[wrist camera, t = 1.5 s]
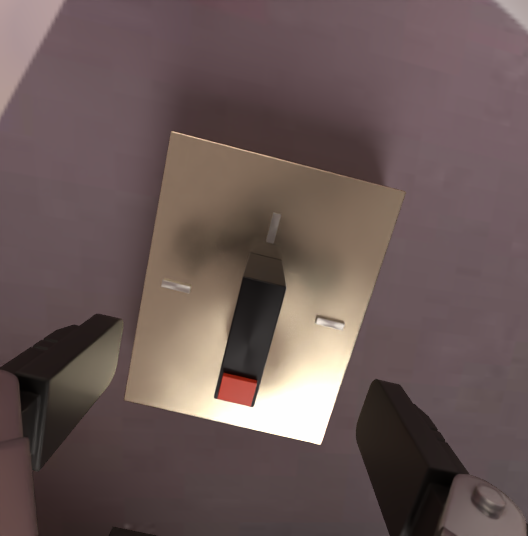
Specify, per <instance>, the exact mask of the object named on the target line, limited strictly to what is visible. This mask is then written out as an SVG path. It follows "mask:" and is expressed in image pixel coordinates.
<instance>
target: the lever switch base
mask: <svg viewBox="0 0 528 536" xmlns="http://www.w3.org/2000/svg"><path fill="white" fill-rule="evenodd" d="M405 194H406V192H405V191H402V190H399V189H395V188H391V187H387V186H383V185H379V184H375V183H372V182H368V181H364V180H360V179H356V178H352V177H349V176H345V175H341V174H337V173H333V172H329V171H325V170H322V169H318V168H314V167H310V166H306V165H302V164H299V163H295V162H291V161H287V160H283V159H279V158H275V157H272V156H268V155H264V154H260V153H256V152H252V151H249V150H245V149H241V148H237V147H233V146H229V145H225V144H222V143H218V142H214V141H210V140H206V139H202V138H199V137H195V136H191V135H187V134H183V133H179V132H175V131H171V134H170V139H169V145H168V151H167V157H166V162H165V168H164V174H163V179H162V185H161V191H160V196H159V202H158V208H157V213H156V219H155V225H154V231H153V236H152V242H151V248H150V253H149V259H148V265H147V270H146V276H145V282H144V287H143V293H142V299H141V305H140V310H139V316H138V322H137V327H136V333H135V339H134V344H133V350H132V356H131V361H130V367H129V373H128V378H127V384H126V390H125V396H124V400H125V401H129V402H133V403H138V404H142V405H147V406H151V407H155V408H160V409H164V410H169V411H173V412H178V413H182V414H186V415H191V416H195V417H200V418H204V419H209V420H213V421H217V422H222V423H226V424H231V425H235V426H240V427H244V428H248V429H253V430H257V431H262V432H266V433H271V434H275V435H279V436H284V437H288V438H293V439H297V440H301V441H306V442H310V443H315V444H319V445H321V444H322V441H323V438H324V435H325V432H326V429H327V426H328V423H329V420H330V417H331V414H332V411H333V408H334V405H335V402H336V399H337V396H338V393H339V390H340V387H341V384H342V381H343V378H344V375H345V372H346V369H347V366H348V363H349V360H350V357H351V354H352V351H353V349H354V346H355V343H356V340H357V337H358V334H359V331H360V328H361V325H362V322H363V319H364V316H365V313H366V310H367V307H368V304H369V301H370V298H371V295H372V292H373V289H374V286H375V283H376V280H377V277H378V274H379V271H380V268H381V265H382V262H383V259H384V256H385V253H386V250H387V247H388V244H389V241H390V238H391V235H392V232H393V230H394V227H395V224H396V221H397V218H398V215H399V212H400V209H401V206H402V203H403V200H404V197H405ZM250 253H253V254H257V255H261V256H265V257H269V258H273V259H277V260H281V261H282V264H283V270H284V275H285V281H286V287H287V289H286V292H285V296H284V299H283V303H282V307H281V310H280V314H279V318H278V321H277V325H276V328H275V332H274V336H273V339H272V343H271V347H270V350H269V354H268V358H267V361H266V365H265V368H264V372H263V376H262V379H261V383H260V387H259V390H258V394H257V397H256V401H255V405H254V407H249V406H245V405H240V404H236V403H231V402H227V401H223V400H218V399H214V393H215V389H216V385H217V381H218V377H219V372H220V368H221V364H222V360H223V356H224V352H225V348H226V344H227V340H228V335H229V331H230V327H231V323H232V319H233V315H234V311H235V307H236V303H237V298H238V294H239V290H240V286H241V282H242V278H243V274H244V271H245V268H246V264H247V261H248V258H249V254H250Z"/></svg>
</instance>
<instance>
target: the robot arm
mask: <svg viewBox="0 0 528 536" xmlns="http://www.w3.org/2000/svg"><path fill="white" fill-rule="evenodd" d="M122 331H123V320H122V319H119V318H115V317H111V316H106V315H102V314H95V315H94V316H92V317H91V318H90V319H88V320H87V321H85V322H84V323H83V324H81V325H80V326H78V325H71V326H68V327H65V328H61V329H58V330H56V331H54V332H53V333H51V334H50V335H48V336H47V337H45V338H44V340H41V341H39V342H38V343H36V344H35V345H34V346H33V348H32V347H30V348H29V349H27V350H26V351H24V352H23V353H21V354H20V355H18V356H17V357H15V358H14V359H12V360H11V361H9V362H8V363H6V364H5V365H3V366H2V367H0V536H38V526H37V516H36V505H35V495H34V485H33V475H32V470H33V471H38V472H39V471H40V469H41V468H42V467H43V466H44V464H45V463H46V462H47V461H48V459H49V458H50V457H51V456H52V455H53V453H54V452H55V451H56V450H57V448H58V447H59V446H60V445H61V443H62V442H63V441H64V440H65V439H66V437H67V436H68V435H69V434H70V432H71V431H72V430H73V429H74V427H75V426H76V425H77V424H78V422H79V421H80V420H81V419H82V418H83V416H84V415H85V414H86V413H87V411H88V410H89V409H90V408H91V406H92V405H93V404H94V403H95V402H96V400H97V399H98V398H99V397H100V395H101V394H102V393H103V392H104V390H105V389H106V388H107V387H108V385H109V384H110V382H111V380H112V378H113V376H114V373H115V370H116V367H117V361H118V355H119V349H120V343H121V337H122ZM437 430H438V429H437V428H436V426H435V425H434V423H433V422H432V421H431V419H430V418H429V416H427V415H426V414H425V413H424V412H423V411H422V410H421V409H419V408H418V407H417V406H416V405H415V404H413V403H412V401H411V400H410V398H409V397H408V396H407V394H406V393H405V391H404V390H403V388H402V387H401V386H400V385H399V384H395V383H390V382H386V381H382V380H378V379H375V380H374V381H373V382H372V383H371V385H370V388H369V390H368V393H367V396H366V399H365V402H364V405H363V407H362V410H361V413H360V416H359V419H358V422H357V427H356V440H357V444H358V447H359V449H360V452H361V455H362V458H363V461H364V464H365V466H366V469H367V472H368V475H369V478H370V481H371V483H372V486H373V489H374V492H375V495H376V498H377V500H378V503H379V506H380V509H381V512H382V515H383V518H384V520H385V523H386V526H387V529H388V532H389V535H390V536H528V524H527V523H526V520H525V518H524V515H523V514H522V512H521V510H520V509H519V508H518V506H517V505H516V504H515V503H514V502H513V501H512V500H511V499H510V498H509V497H508V496H507V495H506V494H504V493H503V492H502V491H501V490H499V489H498V488H497V487H495V486H494V485H492V484H490V483H489V482H487V481H485V480H483V479H481V478H479V477H476V476H473V475H470V474H469V473H468V471H467V470H466V469H465V467H464V466H463V464H462V463H461V462H460V460H459V459H458V457H457V456H456V455H455V453H454V452H453V450H452V449H451V447H450V446H449V445H448V443H446V442H445V439H444V438H443V436H442V435H441V433H440V432H438V431H437ZM109 536H156V535H151V534H146V533H141V532H136V531H132V530H127V529H122V528H117V527H113V528H112V530H111V532H110V534H109Z"/></svg>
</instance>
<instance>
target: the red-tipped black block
mask: <svg viewBox="0 0 528 536" xmlns="http://www.w3.org/2000/svg"><path fill="white" fill-rule="evenodd" d="M286 289H287V287H286V281H285V275H284V270H283V264H282V261H281V260H277V259H273V258H269V257H265V256H261V255H257V254H253V253H250V254H249V258H248V261H247V264H246V268H245V271H244V274H243V278H242V282H241V286H240V290H239V294H238V298H237V303H236V307H235V311H234V315H233V319H232V323H231V327H230V331H229V335H228V340H227V344H226V348H225V352H224V356H223V360H222V364H221V368H220V372H219V377H218V381H217V385H216V389H215V393H214V399H218V400H223V401H227V402H231V403H236V404H240V405H245V406H249V407H254V405H255V401H256V397H257V394H258V390H259V387H260V383H261V379H262V376H263V372H264V368H265V365H266V361H267V358H268V354H269V350H270V347H271V343H272V339H273V336H274V332H275V328H276V325H277V321H278V318H279V314H280V310H281V307H282V303H283V299H284V296H285V292H286Z"/></svg>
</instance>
